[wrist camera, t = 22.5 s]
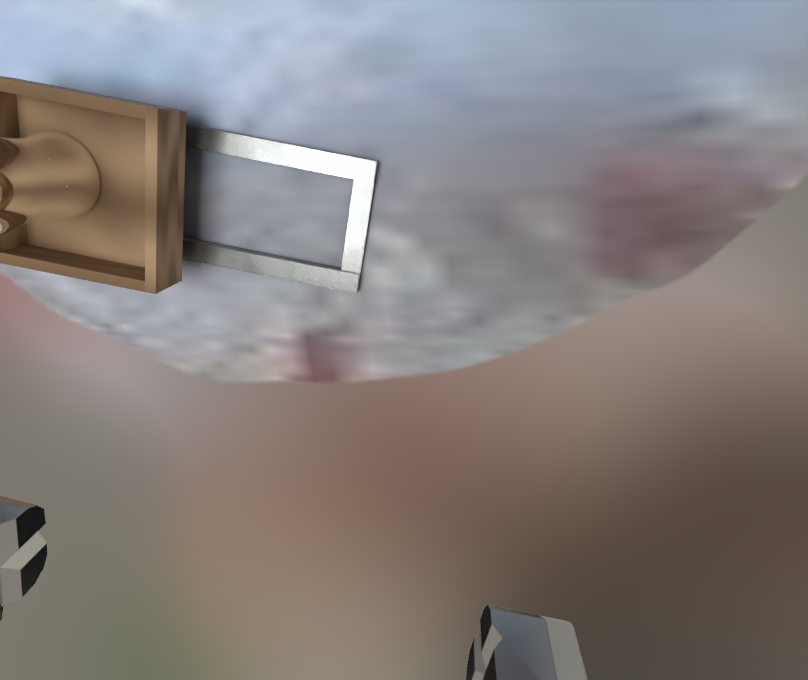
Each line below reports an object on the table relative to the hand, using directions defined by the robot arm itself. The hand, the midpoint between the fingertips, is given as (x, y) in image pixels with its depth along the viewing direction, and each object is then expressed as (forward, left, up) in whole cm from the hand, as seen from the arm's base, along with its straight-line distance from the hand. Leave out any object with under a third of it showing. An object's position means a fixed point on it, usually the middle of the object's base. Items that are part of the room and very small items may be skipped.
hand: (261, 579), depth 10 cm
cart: (0, -23, -35) cm, 42 cm away
